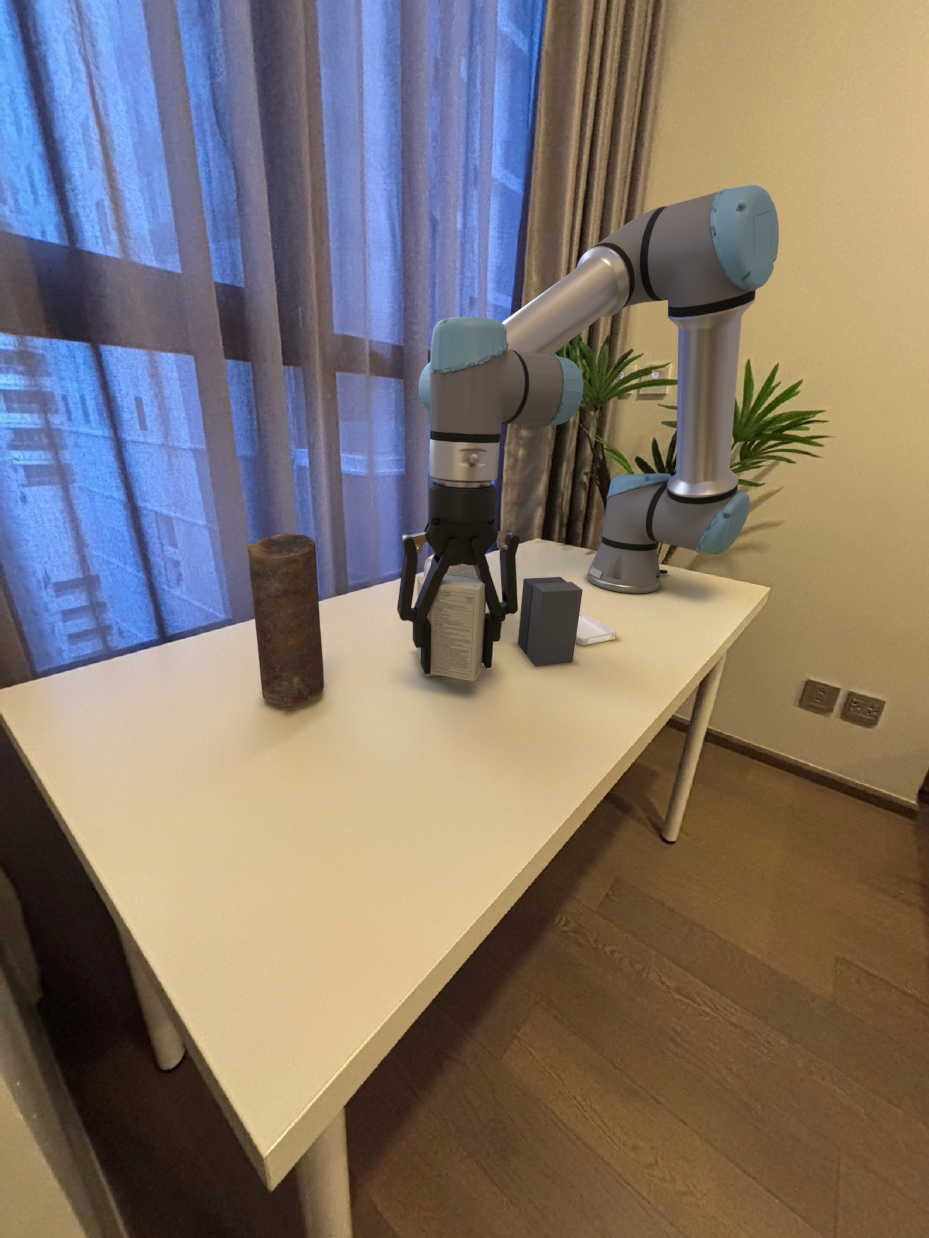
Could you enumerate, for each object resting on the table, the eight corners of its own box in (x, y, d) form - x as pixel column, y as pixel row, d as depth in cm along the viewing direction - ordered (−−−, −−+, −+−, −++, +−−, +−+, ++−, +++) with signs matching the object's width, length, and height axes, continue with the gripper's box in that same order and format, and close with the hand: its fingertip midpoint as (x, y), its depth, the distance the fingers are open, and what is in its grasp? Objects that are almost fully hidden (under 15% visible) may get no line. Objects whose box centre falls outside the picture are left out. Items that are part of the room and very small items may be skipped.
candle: (339, 693, 64) (328, 539, 56) (294, 721, 58) (275, 553, 51) (296, 676, 68) (281, 529, 60) (250, 701, 62) (226, 541, 54)
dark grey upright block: (552, 641, 81) (560, 573, 76) (572, 662, 75) (582, 589, 70) (517, 644, 80) (523, 575, 75) (534, 666, 73) (542, 591, 69)
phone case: (529, 612, 92) (580, 646, 80) (530, 605, 92) (581, 638, 79) (562, 607, 95) (616, 639, 83) (563, 600, 95) (618, 631, 82)
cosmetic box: (482, 667, 66) (490, 578, 61) (474, 683, 62) (481, 589, 57) (436, 658, 67) (440, 571, 62) (425, 673, 63) (429, 581, 58)
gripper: (373, 486, 50) (379, 688, 58) (561, 487, 55) (540, 673, 63) (367, 476, 56) (373, 659, 65) (535, 477, 61) (519, 647, 70)
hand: (455, 665), depth 64 cm, fingers closed on cosmetic box, 7 cm apart
